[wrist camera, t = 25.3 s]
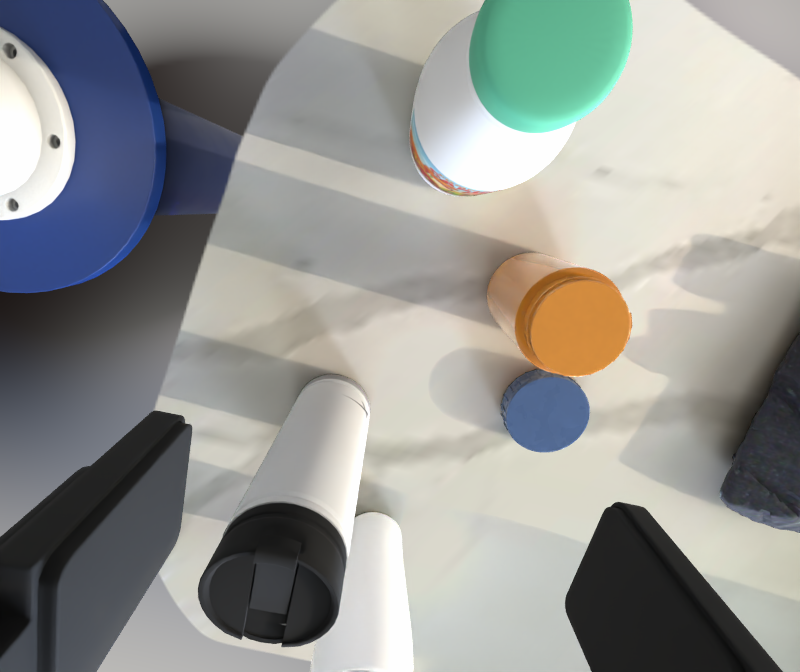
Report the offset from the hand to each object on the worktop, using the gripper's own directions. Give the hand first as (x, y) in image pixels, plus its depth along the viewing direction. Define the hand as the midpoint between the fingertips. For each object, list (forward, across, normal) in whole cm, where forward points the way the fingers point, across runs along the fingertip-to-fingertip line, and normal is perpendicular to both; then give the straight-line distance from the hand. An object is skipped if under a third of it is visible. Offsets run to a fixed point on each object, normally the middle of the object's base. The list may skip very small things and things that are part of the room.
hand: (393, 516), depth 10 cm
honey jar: (+26, -11, -2) cm, 28 cm away
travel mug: (+26, +2, +11) cm, 29 cm away
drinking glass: (+26, -4, +23) cm, 35 cm away
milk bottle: (+26, -3, -12) cm, 29 cm away
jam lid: (+24, -15, +7) cm, 29 cm away
